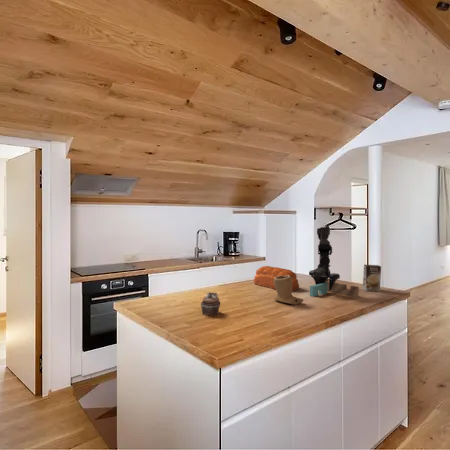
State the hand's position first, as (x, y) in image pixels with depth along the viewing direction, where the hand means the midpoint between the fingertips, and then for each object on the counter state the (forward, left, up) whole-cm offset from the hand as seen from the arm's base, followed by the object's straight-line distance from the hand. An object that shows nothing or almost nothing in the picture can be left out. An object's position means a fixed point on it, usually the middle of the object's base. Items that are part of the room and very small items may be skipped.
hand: (323, 288), depth 215 cm
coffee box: (+14, +32, -3) cm, 35 cm away
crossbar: (0, -5, -3) cm, 6 cm away
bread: (-32, -9, -4) cm, 33 cm away
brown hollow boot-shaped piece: (0, -35, -3) cm, 35 cm away
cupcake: (-10, -80, -3) cm, 81 cm away
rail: (+7, +8, -3) cm, 11 cm away
